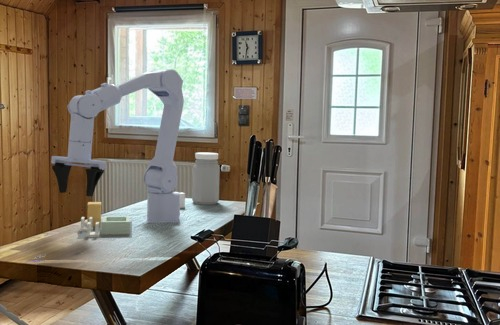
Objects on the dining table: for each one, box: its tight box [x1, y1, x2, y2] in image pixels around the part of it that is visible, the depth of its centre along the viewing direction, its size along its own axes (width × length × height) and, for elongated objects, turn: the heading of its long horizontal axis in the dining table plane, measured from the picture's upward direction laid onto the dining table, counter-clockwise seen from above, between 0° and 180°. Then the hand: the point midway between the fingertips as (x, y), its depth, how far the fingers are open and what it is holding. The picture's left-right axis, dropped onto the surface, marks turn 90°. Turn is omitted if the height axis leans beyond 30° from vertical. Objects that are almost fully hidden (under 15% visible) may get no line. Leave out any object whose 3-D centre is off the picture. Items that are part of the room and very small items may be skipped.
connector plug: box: [86, 201, 102, 226], centre depth 138 cm, size 3×3×6 cm
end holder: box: [101, 215, 131, 235], centre depth 132 cm, size 7×7×3 cm
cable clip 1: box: [79, 216, 93, 232], centre depth 132 cm, size 3×3×3 cm
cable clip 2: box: [86, 222, 100, 237], centre depth 126 cm, size 3×3×3 cm
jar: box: [191, 151, 221, 206], centre depth 181 cm, size 10×10×18 cm
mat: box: [76, 221, 133, 240], centre depth 133 cm, size 13×18×1 cm
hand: (76, 194), depth 130 cm, fingers open, 7 cm apart
